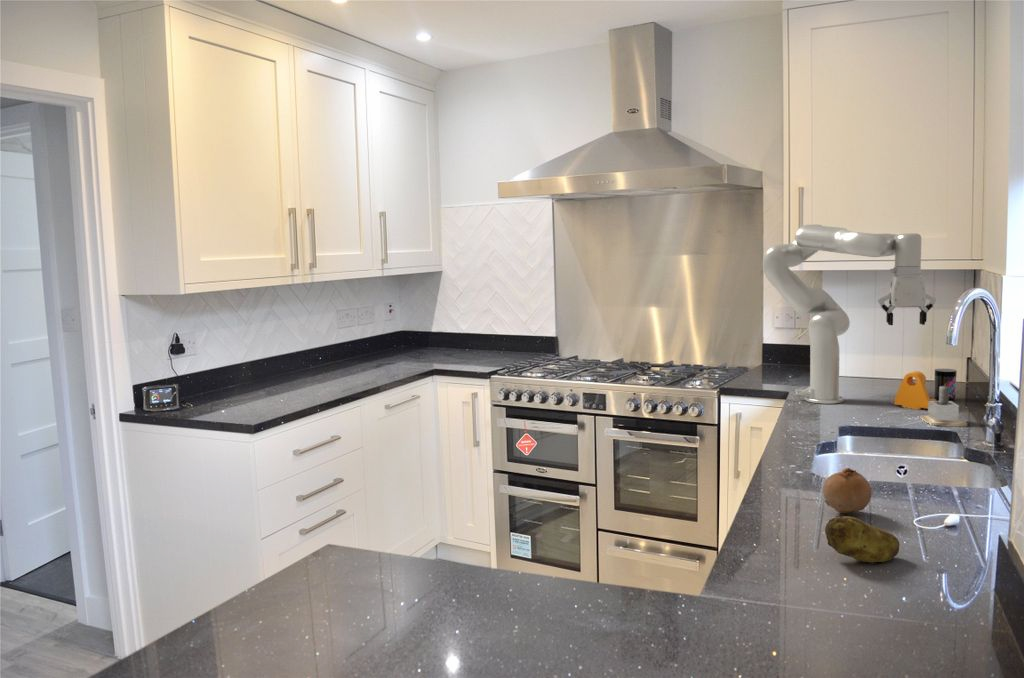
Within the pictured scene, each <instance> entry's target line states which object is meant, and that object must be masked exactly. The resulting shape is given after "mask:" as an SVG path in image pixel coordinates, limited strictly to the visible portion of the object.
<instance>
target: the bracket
mask: <svg viewBox="0 0 1024 678" xmlns="http://www.w3.org/2000/svg"><path fill="white" fill-rule="evenodd" d="M914 379H915V381H916V382H914ZM926 381H927V379H926V375H925V374H924V373H923V372H921V371H917V370H916V371H912V372H909V373H906V374H905V375H904V377H903V378H902V380H901V382H900V385H899V388H898V390H897V393H896V394H895V397H894V403H893V404H894V405H898V406H901V407H909V408H914V409H913V410H917V409H921V410H923V409H927V410H928V401H937V400H936V399H934V398H930V396H929V392H928V390H927V387H926ZM909 408H908V409H909ZM922 408H923V409H922Z"/></svg>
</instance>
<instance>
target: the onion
mask: <svg viewBox="0 0 1024 678" xmlns="http://www.w3.org/2000/svg"><path fill="white" fill-rule="evenodd" d="M822 493H823V497H824V499H825V500H824V502H825V504H826V505H827V506H828V507H830V508H833V510H835V512H838V513H840V514H846V513H847V514H853V513H854V514H855V513H857V512H859V511H863V510H864V509H865V508H867V506H868V505H869V503H870V502H871V498H872V495H873V494H872V487H871V484H870V483H869V481H868V480H867V479H866V477H864V476H863V475H862V474H861V473H859V472H858V471H857V470H855V469H851V467H846V468H844V469H842V470H841V471H839V472H836V473H833V474H831V475H830V476H828V477H827V479H826V481H825V482H824V484H823V488H822Z"/></svg>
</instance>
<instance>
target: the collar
mask: <svg viewBox="0 0 1024 678" xmlns="http://www.w3.org/2000/svg"><path fill="white" fill-rule="evenodd" d="M959 408H960V405H959V404H957V403H955V401H948V405H939V401H938V400H936V401H928V409H927V416H928V417H929V418H930V419H932V420H933V421H935V422H958V418H959V413H960V410H959Z"/></svg>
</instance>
